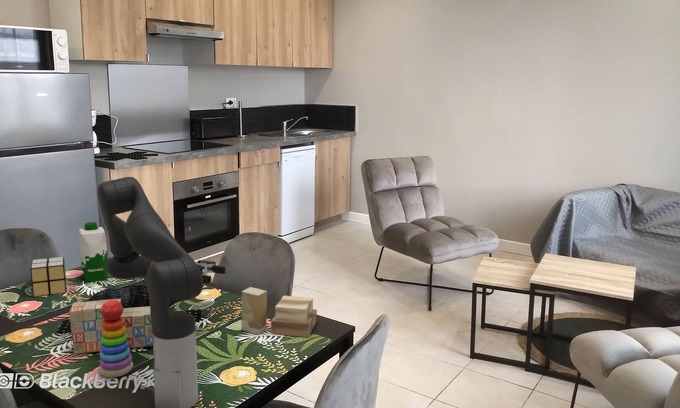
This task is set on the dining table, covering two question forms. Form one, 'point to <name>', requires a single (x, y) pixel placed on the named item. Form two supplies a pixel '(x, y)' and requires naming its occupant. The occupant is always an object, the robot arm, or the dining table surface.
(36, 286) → the puzzle cube
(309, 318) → the stepped wooden pedestal
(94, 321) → the stack of blocks
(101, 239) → the milk carton
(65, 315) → the dining table surface
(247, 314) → the skincare box
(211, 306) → the dining table surface
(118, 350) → the stacking toy
